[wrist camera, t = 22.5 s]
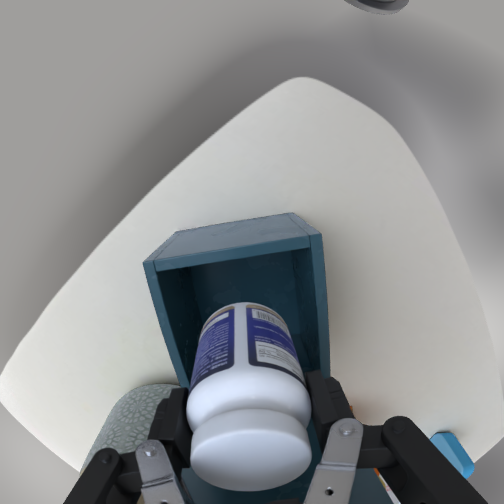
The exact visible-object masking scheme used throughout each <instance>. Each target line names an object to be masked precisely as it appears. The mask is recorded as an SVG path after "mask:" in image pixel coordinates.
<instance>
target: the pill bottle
mask: <svg viewBox="0 0 504 504" xmlns="http://www.w3.org/2000/svg"><path fill="white" fill-rule="evenodd" d="M311 413H312V406H311V400H310V395H309V392H308V389H307V386H306V383H305V379H304V376H303V373H302V370H301V366H300V363H299V360H298V357H297V354H296V350H295V347H294V344H293V341H292V338H291V335H290V332H289V329H288V327H287V325H286V323H285V322H284V320H283V319H282V318H281V316H280V315H278V314H277V313H276V312H275V311H273V310H272V309H270V308H268V307H266V306H264V305H261V304H257V303H250V302H241V303H234V304H230V305H228V306H225V307H223V308H221V309H219V310H218V311H216V312H215V313H214V314H212V315H211V316H210V317H209V319H208V320H207V321H206V323H205V324H204V326H203V329H202V331H201V334H200V338H199V343H198V348H197V353H196V358H195V363H194V368H193V374H192V379H191V384H190V389H189V394H188V399H187V407H186V415H187V420H188V423H189V426H190V428H191V430H192V432H193V433H194V434H193V436H192V441H191V457H190V461H191V466H192V469H193V470H194V472H195V473H196V474H197V475H198V476H199V477H200V478H201V479H203V480H204V481H206V482H208V483H210V484H212V485H214V486H217V487H220V488H224V489H228V490H234V491H261V490H267V489H272V488H275V487H279V486H282V485H284V484H287V483H289V482H291V481H292V480H294V479H296V478H297V477H299V476H300V475H301V474H303V473H304V472H305V470H306V469H307V468H308V466H309V465H310V463H311V460H312V451H311V446H310V442H309V438H308V433H307V430H306V428H307V426H308V424H309V422H310V419H311Z"/></svg>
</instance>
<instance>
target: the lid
mask: <svg viewBox="0 0 504 504" xmlns="http://www.w3.org/2000/svg"><path fill="white" fill-rule="evenodd" d="M306 430H307V433H308V438H309V442H310V446H311V451H312V460H311V463H310V465H309V466H308V468H307V469H306V470H305V472H304V473H303V474H301V475H300V476H299V477H297V478H296V479H294V480H292V481H291V482H289V483H287V484H284V485H282V486H279V487H275V488H272V489H267V490H261V491H234V490H228V489H224V488H220V487H217V486H214V485H212V484H210V483H208V482H206V481H204V480H203V479H201V478H200V477H199V476H198V475H197V474H196V473H195V472H194V470H193V469H192V466H191V463H190V468H182V473H181V475H182V477H183V479H184V481H185V484H186V486H187V488H188V490H189V493H190V495H191V497H192V499H193V501H194V503H195V504H265V503H269V502H272V501H276V500H284V499H291V498H297V497H299V502H300V503H304V500H305V498H306V495H307V492H308V490H309V487H310V484H311V481H312V479H313V476H314V473H315V470H316V467H317V465H318V464H320V462H321V459H322V456H323V454H322V453H321V450H320V446H319V442H318V439H317V435H316V431H315V428H314V424H313V420H312V417H311V419H310V422H309V424H308V426H307V428H306ZM349 504H394V503H393V501H392V500H391V498H390V496H389V494H388V493H387V491H386V489H385V488H384V486H383V484H382V482H381V481H380V479H379V477H378V476H377V474H376V472H375V470H374V469H373V468H367V469H357V471H356V475H355V480H354V484H353V488H352V492H351V496H350V500H349Z"/></svg>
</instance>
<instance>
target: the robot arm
mask: <svg viewBox="0 0 504 504" xmlns="http://www.w3.org/2000/svg"><path fill="white" fill-rule="evenodd" d="M373 1H377V2H393V1H396V0H373ZM305 381H306V386H307V389H308V392H309V395H310V400H311V406H312V413H311V417H312V420H313V424H314V428H315V431H316V435H317V439H318V442H319V446H320V450H321V453H322V454H323V456H322V459H321V462H320V464H318V465H317V467H316V470H315V473H314V476H313V479H312V481H311V484H310V487H309V490H308V492H307V495H306V498H305V500H304V503H300V502H299V497H297V498H291V499H284V500H276V501H272V502H269V503H265V504H349V500H350V496H351V492H352V488H353V484H354V480H355V475H356V471H357V469H367V468H376V469H377V470H378V472H379V473H380V474H381V476H382V477H383V479H384V480H385V482H386V483H387V485H388V486H389V487H390V489H391V490H392V492H393V493H394V495H395V496H396V498H397V499H398V500H399V502H400V503H401V504H488V503H487V502H486V501H485V500H484V498H483V497H482V496H481V495H480V494H479V493H478V492H477V491H476V490H475V489H474V488H473V487H472V485H471V484H470V483H469V482H468V481H467V480H466V479H465V478H464V477H463V476H462V475H461V473H460V472H459V471H458V470H457V469H456V468H455V467H454V466H453V465H452V464H451V463H450V461H449V460H448V459H447V458H446V457H445V456H444V455H443V454H442V453H441V452H440V451H439V450H438V448H437V447H436V446H435V445H434V444H433V443H432V442H431V441H430V440H429V439H428V438H427V437H426V435H425V434H424V433H423V432H422V431H421V430H420V429H419V428H418V427H417V426H416V425H415V424H414V422H413V421H412V420H411V419H409V418H407V417H404V416H395V417H392V418H390V419H388V420H387V421H386V422H385V423H384V425H378V426H369V425H364V424H361V422H359V421H358V420H356V419H355V417H354V415H353V413H352V410H351V408H350V406H349V403H348V401H347V399H346V397H345V394H344V392H343V390H342V387H341V385H340V383H339V382H338V381H337V380H336V379H334V378H333V377H329V378H325V379H324V378H323V375H322V372H321V370H320V369H318V370H313V371H308V372H305ZM188 394H189V390H188V388H187V387H182V388H172V389H171V392H170V396H169V398H163V399H162V400H161V402H160V403H159V404H158V405H157V408H156V412H155V415H154V420H153V421H152V424H151V428H150V431H149V434H148V438H147V440H146V441H144V442H142V443H140V444H139V445H138V446H137V448H136V450H135V451H133V452H128V453H123V454H119V453H118V452H117V450H115V449H113V448H103V449H100V450H99V451H97V452H96V453H95V454H94V456H93V458H92V459H91V461H90V462H89V464H88V465H87V467H86V468H85V470H84V472H83V473H82V475H81V476H80V478H79V480H78V481H77V483H76V484H75V486H74V488H73V489H72V491H71V492H70V494H69V495H68V497H67V498H66V500H65V502H64V503H63V504H137V502H138V500H139V498H140V496H141V493H142V496H143V499H144V502H145V504H195V503H194V501H193V499H192V497H191V495H190V493H189V490H188V488H187V486H186V484H185V481H184V479H183V477H182V475H181V473H182V468H190V463H191V461H190V457H191V441H192V436H193V434H194V433H193V432H192V430H191V428H190V426H189V423H188V420H187V415H186V407H187V399H188Z"/></svg>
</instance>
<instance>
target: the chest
mask: <svg viewBox="0 0 504 504" xmlns="http://www.w3.org/2000/svg"><path fill="white" fill-rule="evenodd" d="M143 267H144V271H145V274H146V278H147V282H148V286H149V290H150V293H151V297H152V300H153V304H154V307H155V311H156V314H157V317H158V321H159V324H160V327H161V330H162V334H163V337H164V340H165V343H166V346H167V349H168V352H169V355H170V358H171V361H172V364H173V367H174V369H175V372H176V375H177V378H178V381H179V383H180V386H181V388H182V387H187V388H188V390H189V389H190V384H191V379H192V374H193V368H194V363H195V358H196V353H197V348H198V343H199V338H200V334H201V331H202V329H203V326H204V324H205V323H206V321H207V320H208V319H209V317H210V316H211V315H212V314H214V313H215V312H216V311H218V310H219V309H221V308H223V307H225V306H228V305H230V304H234V303H241V302H250V303H257V304H261V305H264V306H266V307H268V308H270V309H272V310H273V311H275V312H276V313H277V314H278V315H280V316H281V318H282V319H283V320H284V322H285V323H286V325H287V327H288V329H289V332H290V335H291V338H292V341H293V344H294V347H295V350H296V354H297V357H298V360H299V363H300V366H301V370H302V373H303V376H304V379H305V372H308V371H313V370H318V369H320V370H321V372H322V375H323V378H324V379H325V378H329V377H330V344H329V322H328V304H327V289H326V276H325V264H324V253H323V242H322V234H321V233H320V232H319V231H317V230H316V229H315V228H313V227H312V226H311V225H309V224H308V223H306V222H305V221H304V220H302V219H301V218H300V217H298V216H297V215H296V214H294V213H293V212H292V213H286V214H279V215H272V216H266V217H259V218H253V219H247V220H241V221H234V222H228V223H222V224H216V225H210V226H205V227H199V228H193V229H187V230H182V231H176V232H175V233H174V234H173V235H172V236H171V237H170V238H169V239H167V240H166V241H165V242H164V243H163V244H162V245H161V246H160V247H159V248H158V249H157V250H155V251H154V252H153V253H152V254H151V255H150V256H149V257H148V258H147V259H146V260H145V261H144V262H143ZM305 383H306V381H305Z"/></svg>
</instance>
